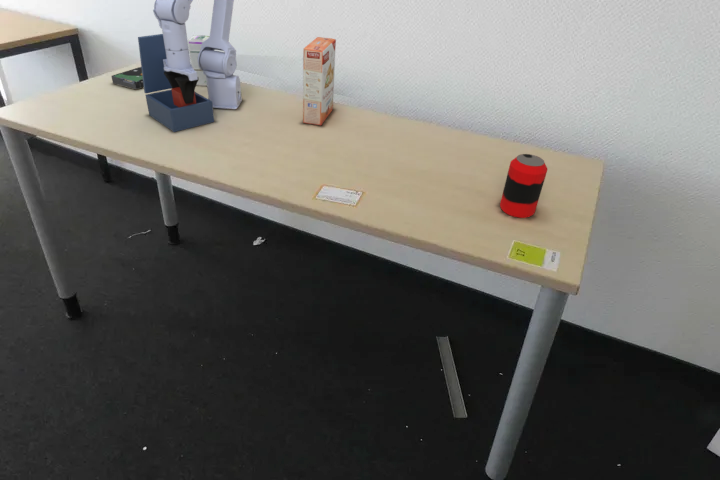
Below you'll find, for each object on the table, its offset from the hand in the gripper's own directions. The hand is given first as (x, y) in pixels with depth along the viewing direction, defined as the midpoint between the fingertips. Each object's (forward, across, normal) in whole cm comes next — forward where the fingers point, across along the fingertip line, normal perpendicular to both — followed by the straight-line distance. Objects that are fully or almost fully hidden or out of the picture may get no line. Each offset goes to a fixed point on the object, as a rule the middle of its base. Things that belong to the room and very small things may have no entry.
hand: (184, 100), depth 138 cm
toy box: (+6, -4, 0) cm, 7 cm away
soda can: (+7, +85, +33) cm, 91 cm away
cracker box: (+7, +18, +32) cm, 38 cm away
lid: (-8, -9, 0) cm, 12 cm away
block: (+1, 0, 0) cm, 1 cm away
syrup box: (+7, -27, +20) cm, 34 cm away
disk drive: (+7, -40, +5) cm, 40 cm away
